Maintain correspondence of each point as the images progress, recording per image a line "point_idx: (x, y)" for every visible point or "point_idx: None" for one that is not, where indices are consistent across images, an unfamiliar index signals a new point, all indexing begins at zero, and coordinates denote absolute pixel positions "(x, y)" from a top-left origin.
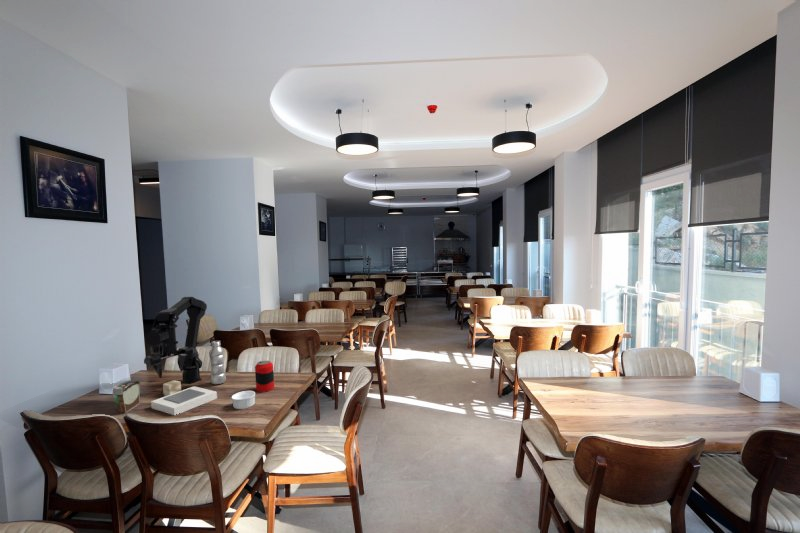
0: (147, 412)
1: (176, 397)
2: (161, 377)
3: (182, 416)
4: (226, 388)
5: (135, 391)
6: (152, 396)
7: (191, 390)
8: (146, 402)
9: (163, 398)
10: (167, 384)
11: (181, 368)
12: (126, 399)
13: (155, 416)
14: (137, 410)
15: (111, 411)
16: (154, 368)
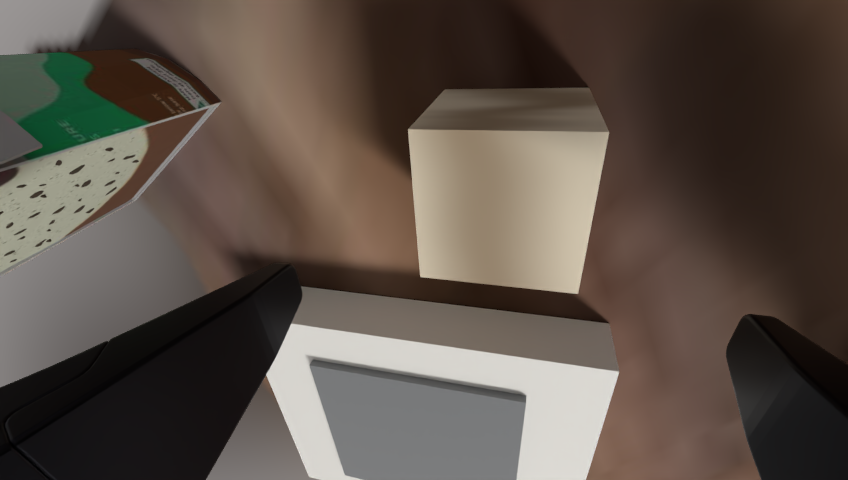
0: None
1: (370, 424)
2: (298, 302)
3: None
4: None
5: (73, 178)
6: (353, 6)
7: (505, 433)
8: (268, 136)
9: (309, 364)
10: (431, 220)
11: (757, 414)
12: (49, 236)
13: (263, 381)
14: (198, 229)
15: (34, 52)
16: (7, 399)
